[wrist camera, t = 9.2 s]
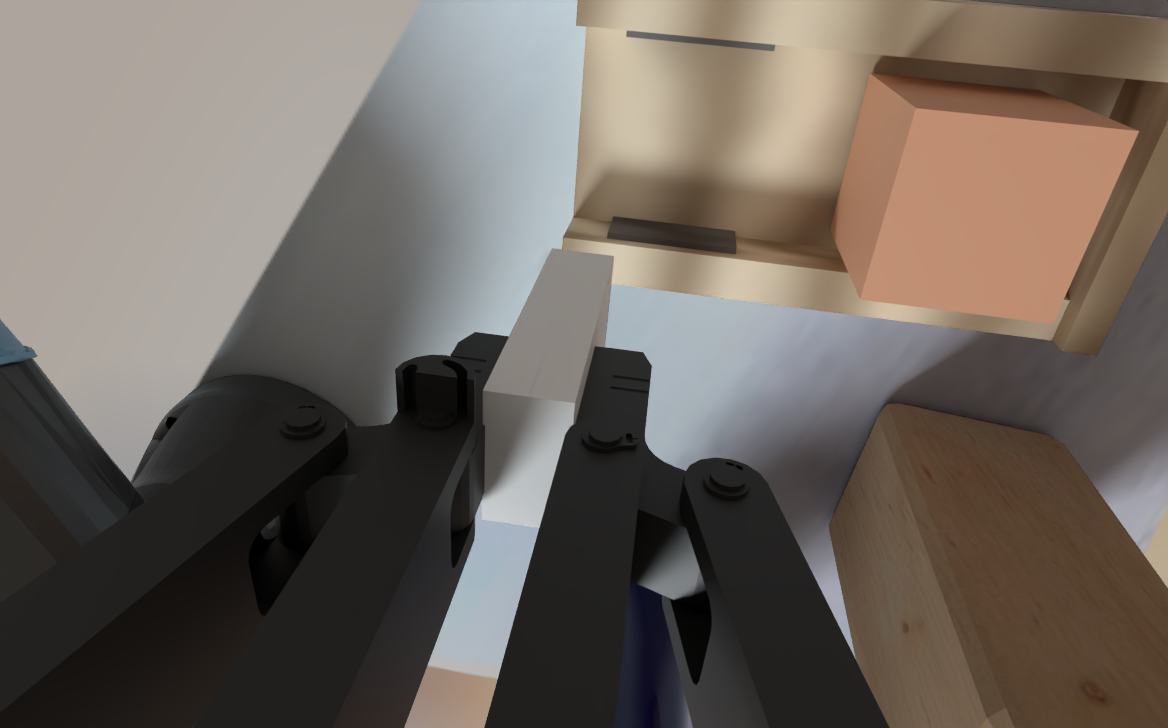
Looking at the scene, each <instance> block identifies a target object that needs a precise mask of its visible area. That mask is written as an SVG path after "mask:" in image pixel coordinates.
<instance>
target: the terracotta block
mask: <svg viewBox="0 0 1168 728" xmlns="http://www.w3.org/2000/svg"><path fill="white" fill-rule="evenodd" d="M1138 133H1139V131H1138V130H1135V129H1133V128H1131V127H1128V126H1126V125H1124V124H1121V123H1119V122H1116V121H1114V120H1112V119H1109V118H1107V117H1104V116H1102V115H1100V114H1097V113H1095V112H1092V111H1090V110H1088V109H1085V108H1083V107H1081V106H1078V105H1076V104H1073V103H1071V102H1069V101H1066V100H1064V99H1061V98H1059V97H1057V96H1054V95H1052V94H1049V93H1047V92H1045V91H1042V90H1035V89H1025V88H1015V87H1004V86H994V85H984V84H974V83H964V82H954V81H944V80H934V79H923V78H913V77H903V76H893V75H883V74H873V73H870V75H869V79H868V83H867V87H866V91H865V95H864V99H863V103H862V106H861V110H860V114H859V118H858V122H857V126H856V130H855V134H854V138H853V142H852V146H851V150H850V153H849V157H848V161H847V165H846V169H845V173H844V177H843V181H842V185H841V189H840V193H839V196H838V200H837V204H836V208H835V212H834V216H833V220H832V224H831V228H830V231H831V234H832V236H833V238H834V241H835V243H836V245H837V248H838V250H839V252H840V254H841V257H842V259H843V261H844V264H845V266H846V268H847V271H848V273H849V275H850V278H851V280H852V282H853V284H854V287H855V289H856V291H857V294H858V296H859V298H860V300H867V301H875V302H883V303H891V304H899V305H907V306H914V307H922V308H930V309H938V310H946V311H954V312H962V313H969V314H977V315H985V316H993V317H1001V318H1009V319H1017V320H1025V321H1032V322H1040V323H1048V324H1053V322H1054V320H1055V318H1056V316H1057V313H1058V311H1059V309H1060V307H1061V305H1062V302H1063V300H1064V298H1065V296H1066V293H1067V291H1068V289H1069V287H1070V284H1071V282H1072V280H1073V278H1074V276H1075V273H1076V271H1077V269H1078V267H1079V264H1080V262H1081V260H1082V258H1083V255H1084V253H1085V251H1086V249H1087V247H1088V244H1089V242H1090V240H1091V238H1092V235H1093V233H1094V231H1095V229H1096V226H1097V224H1098V222H1099V220H1100V217H1101V215H1102V213H1103V211H1104V209H1105V206H1106V204H1107V202H1108V200H1109V197H1110V195H1111V193H1112V191H1113V188H1114V186H1115V184H1116V182H1117V180H1118V177H1119V175H1120V173H1121V171H1122V168H1123V166H1124V164H1125V162H1126V159H1127V157H1128V155H1129V153H1130V151H1131V148H1132V146H1133V144H1134V142H1135V139H1136V137H1137V135H1138Z"/></svg>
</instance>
